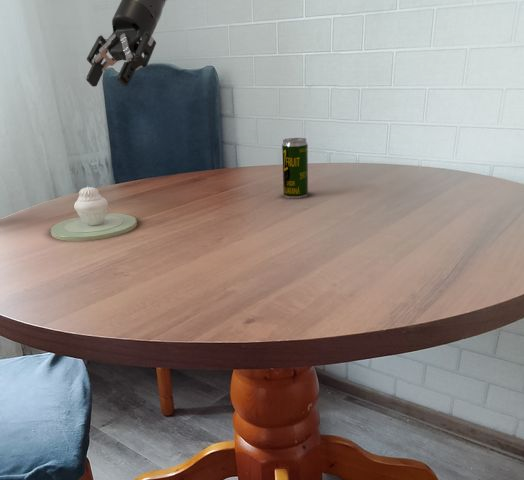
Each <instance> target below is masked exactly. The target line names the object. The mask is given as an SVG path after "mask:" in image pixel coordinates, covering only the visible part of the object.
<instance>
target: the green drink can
mask: <svg viewBox="0 0 524 480" xmlns="http://www.w3.org/2000/svg"><path fill="white" fill-rule="evenodd" d="M308 149H309V146H308V142H307V138H305V137H289V138H283V139H282V144H281V154H282V157H281V158H282V189H283V192H282V193H283V196H284V198H286V199H293V200H294V199H297V200H298V199H304V198H306V197H307V196H308V194H309V168H308V167H309V157H308V156H309V154H308V153H309V151H308Z"/></svg>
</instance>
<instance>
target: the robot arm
mask: <svg viewBox="0 0 524 480" xmlns="http://www.w3.org/2000/svg"><path fill="white" fill-rule="evenodd" d="M167 1H168V0H121V1H120V3H119V4H118V7H117V9H116V10H115V13H114V14H113V17H112V20H111V26H112V33H111V34H110V36H109V37H108V38H105V37H104V36H103V35H102V34H101V35H98V36H97V38H96V40H95V42H94V44H93V46H92V48H91V49H90V51H89V53H88V55H87V57H86V61H87V62H88V63H89V64H90V69H89V71H88V72H87V75H86V78H85V79H86V82H87V83H88V84H89V85H90V86H91V87H94V88H95V87H97V86H98V84H99V82H100V80H101V78H102V76H103V74H104V71H105V70H106V69H107V68H108V67H113V66H114V65H116V63H118V62H120V61H124V62H123V64H122V67H121V68H120V70H119V73H118V74H117V77H116V78H117V81H118V82H119V83H120V84H121V85H122V86H123V87H127V86H128V85H129V84H130V82H131V80H132V78H133V76H134V75H135V72H136V71H139V69H140V67H142V68H146V67H147V66H148V65H149V62H150V59H151V57H152V55H153V52H154V50H155V48H156V45H157V42H156V40H155V38H154V37H153V35H154V32H155V30H156V28H157V25H158V23H159V22H160V20H161V17H162V14H163V10H164V7H165V5H166V3H167ZM108 53H109V55H110V56H111V57H109V55H108ZM104 60H105V61H104Z"/></svg>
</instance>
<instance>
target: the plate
mask: <svg viewBox="0 0 524 480" xmlns="http://www.w3.org/2000/svg"><path fill="white" fill-rule="evenodd" d="M137 225H138V222H137V218H136V217H135V216H132V215H129V214H124V213H111V212H109V213H106V216H105V219H104V222H103V223H102V224H100V225H95V226H89V225H86V224H85V222H84V221H83V220H82V219H81V217H80V216H77V217H72V218H68V219H65V220H63V221H60V222H57V223H56V224H55V225H52V227H51V228H50V233H51V234H50V235H51V236H52V237H53V238H55V239H57V240H60V241H69V242H85V241H95V240H102V239H108V238H113V237H116V236H120V235H123V234H126V233H128V232H131V231H132V230H134V229H135V228H136V227H137Z"/></svg>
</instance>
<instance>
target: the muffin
mask: <svg viewBox="0 0 524 480" xmlns="http://www.w3.org/2000/svg"><path fill="white" fill-rule="evenodd" d="M108 206H109V203H108V200H107V199H106V198H105V197H103V196H102V195H101V194H100V191H99V190H98V189H97V188H95V187H92V186H86V187H83V188H81V189H80V190H79V191H78V198H77V200H76V201H75V202H74V206H73V208H74V210H75V211H76V213H77V215H78V217H81V219H82V220H83V221H84V222H85V224H86V225H89V226H95V225H100V224H102V223H103V222H104V219H105V216H106V214H108Z"/></svg>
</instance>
